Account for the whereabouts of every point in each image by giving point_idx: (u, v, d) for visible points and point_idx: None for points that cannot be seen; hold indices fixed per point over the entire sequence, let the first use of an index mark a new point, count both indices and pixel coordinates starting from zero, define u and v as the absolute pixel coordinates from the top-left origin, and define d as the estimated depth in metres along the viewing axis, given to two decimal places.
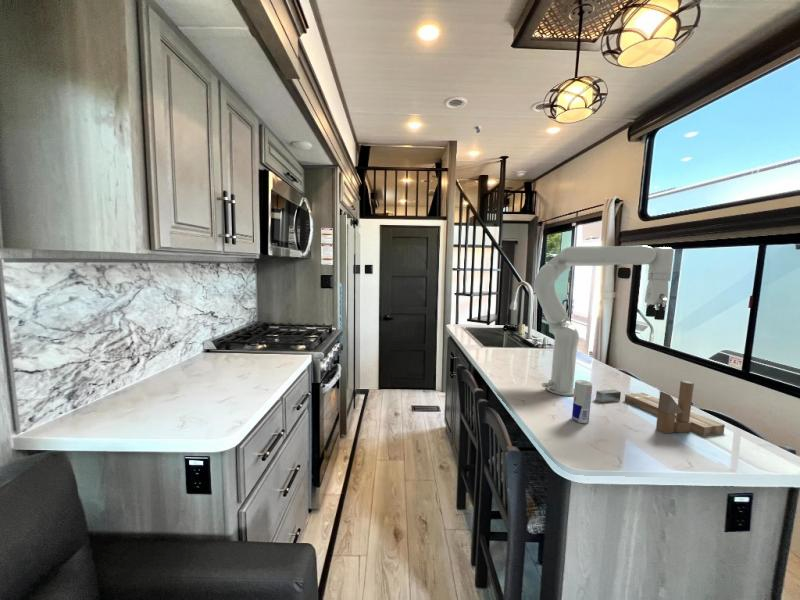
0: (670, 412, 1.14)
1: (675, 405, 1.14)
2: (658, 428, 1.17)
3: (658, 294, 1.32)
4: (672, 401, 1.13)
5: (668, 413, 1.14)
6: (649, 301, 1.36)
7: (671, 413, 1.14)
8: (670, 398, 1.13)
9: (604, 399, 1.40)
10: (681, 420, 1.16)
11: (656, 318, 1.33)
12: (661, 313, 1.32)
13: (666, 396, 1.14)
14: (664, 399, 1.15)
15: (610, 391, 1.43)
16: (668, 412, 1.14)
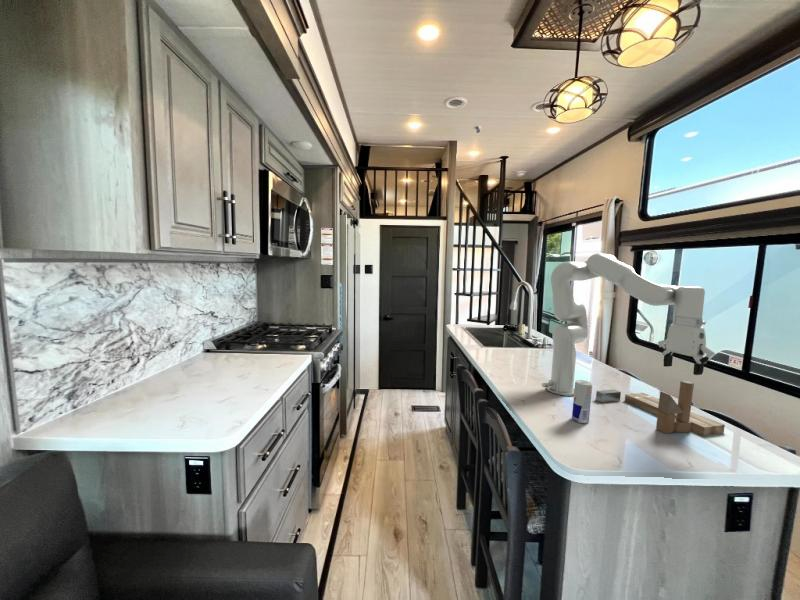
0: (670, 412, 1.14)
1: (675, 405, 1.14)
2: (658, 428, 1.17)
3: None
4: (672, 401, 1.13)
5: (669, 413, 1.14)
6: None
7: (671, 413, 1.14)
8: (670, 398, 1.13)
9: (604, 399, 1.40)
10: (681, 420, 1.16)
11: None
12: None
13: (666, 396, 1.14)
14: (664, 399, 1.15)
15: (610, 391, 1.43)
16: (668, 412, 1.14)
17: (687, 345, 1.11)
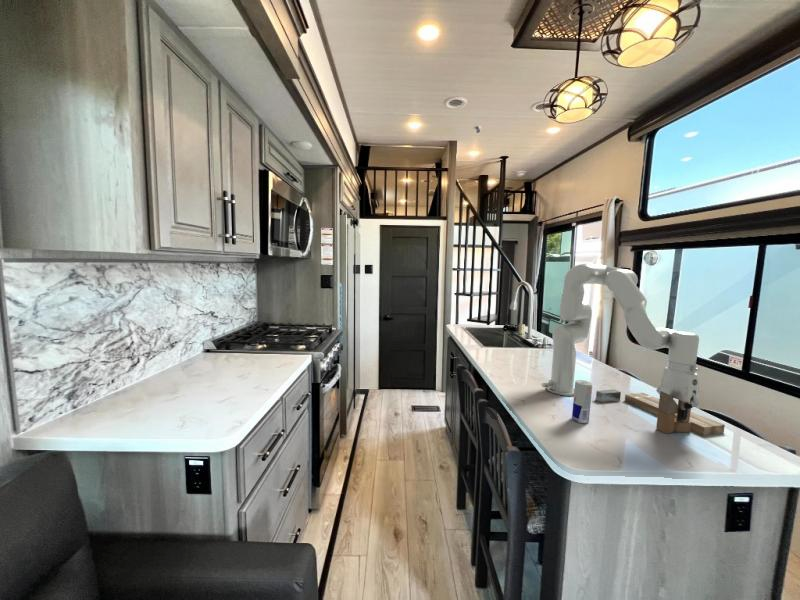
0: (671, 412, 1.14)
1: (675, 405, 1.14)
2: (658, 428, 1.17)
3: None
4: (672, 401, 1.13)
5: (669, 413, 1.14)
6: None
7: (671, 413, 1.14)
8: (670, 398, 1.13)
9: (604, 399, 1.40)
10: (681, 420, 1.16)
11: None
12: None
13: (666, 396, 1.14)
14: (664, 399, 1.15)
15: (610, 391, 1.43)
16: (668, 412, 1.14)
17: (680, 390, 1.12)
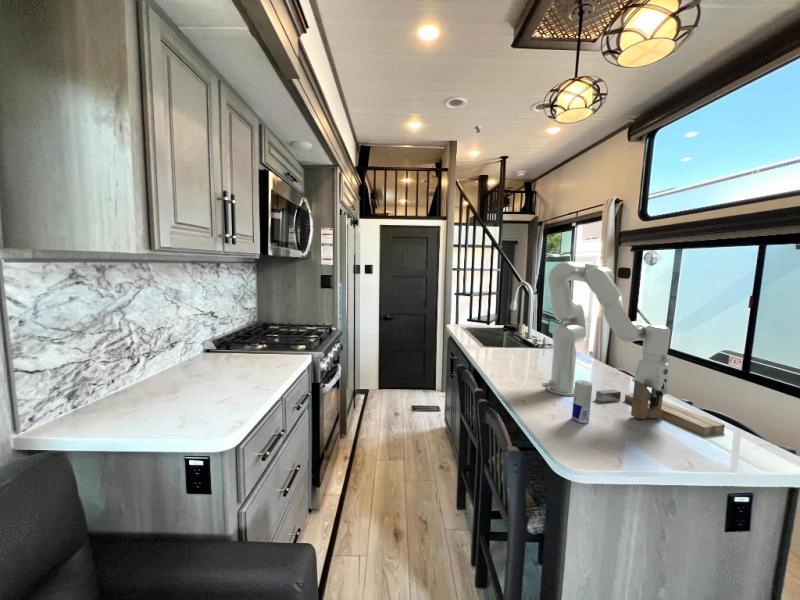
0: (643, 399, 1.23)
1: (648, 393, 1.23)
2: (633, 414, 1.26)
3: None
4: (645, 389, 1.23)
5: (642, 400, 1.23)
6: None
7: (644, 400, 1.23)
8: (643, 386, 1.22)
9: (604, 399, 1.40)
10: (654, 407, 1.25)
11: None
12: None
13: (640, 384, 1.23)
14: (638, 387, 1.24)
15: (610, 391, 1.43)
16: (641, 399, 1.23)
17: (653, 379, 1.22)
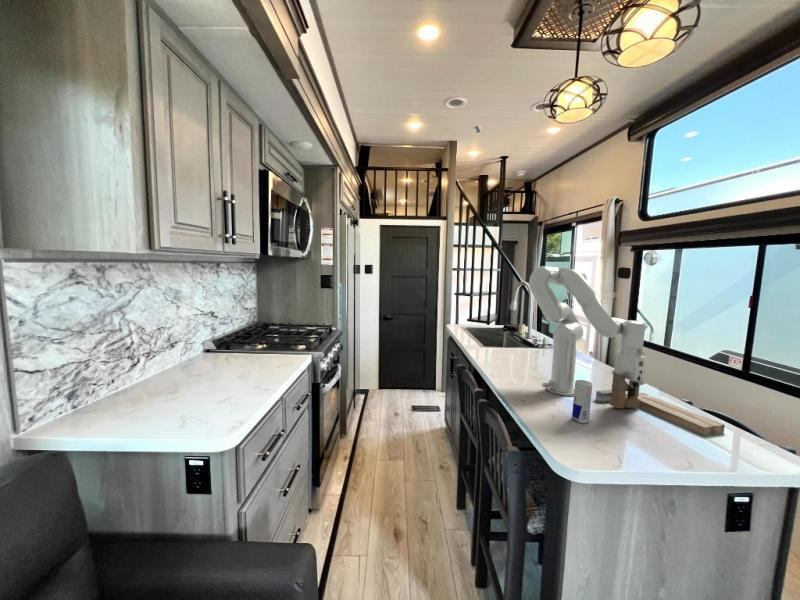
0: (621, 389, 1.32)
1: (625, 384, 1.32)
2: (611, 404, 1.35)
3: None
4: (623, 380, 1.31)
5: (620, 391, 1.32)
6: None
7: (622, 391, 1.32)
8: (621, 378, 1.31)
9: (604, 399, 1.40)
10: (631, 397, 1.34)
11: None
12: None
13: (618, 376, 1.32)
14: (616, 379, 1.33)
15: (610, 391, 1.43)
16: (619, 390, 1.32)
17: (629, 371, 1.31)
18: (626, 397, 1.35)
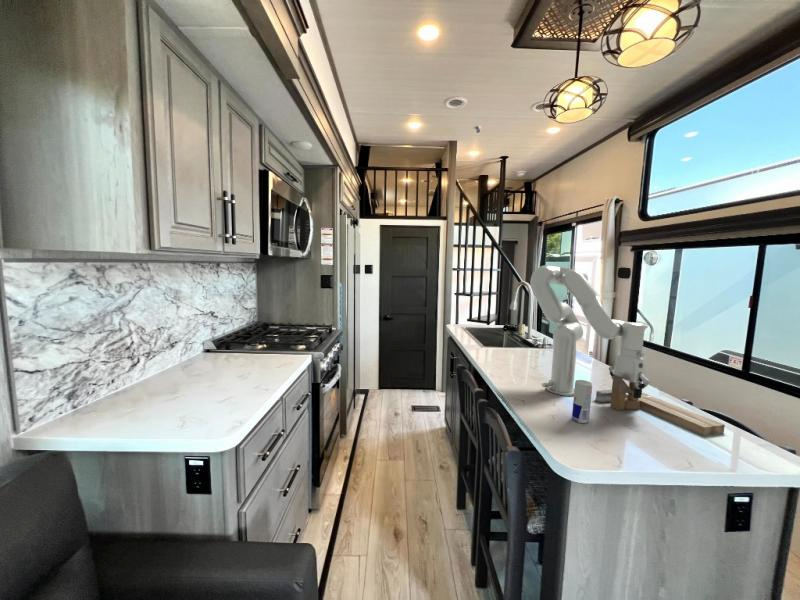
0: (621, 391, 1.32)
1: (625, 385, 1.32)
2: (612, 406, 1.35)
3: None
4: (623, 382, 1.32)
5: (620, 393, 1.32)
6: None
7: (622, 392, 1.32)
8: (621, 379, 1.31)
9: (604, 399, 1.40)
10: (631, 399, 1.34)
11: None
12: None
13: (618, 378, 1.32)
14: (616, 380, 1.33)
15: (610, 391, 1.43)
16: (619, 392, 1.32)
17: (629, 373, 1.31)
18: (626, 399, 1.35)
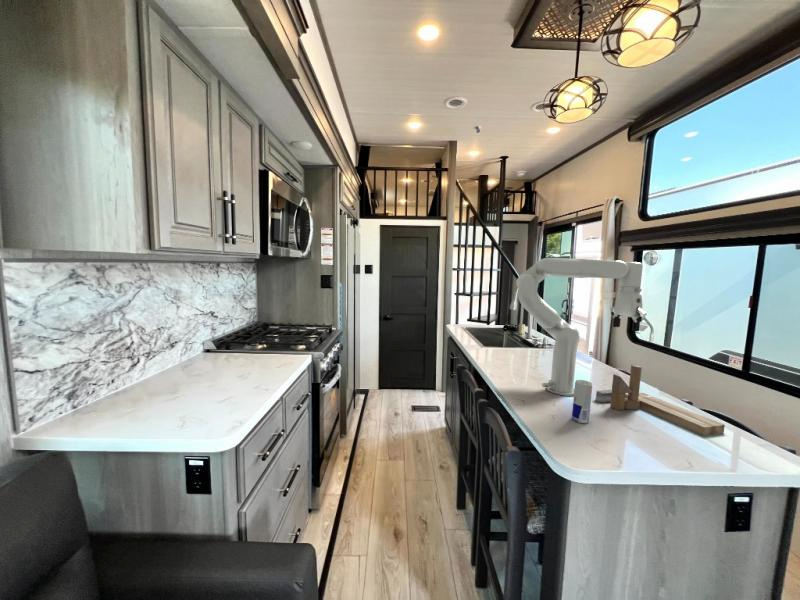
0: (621, 391, 1.32)
1: (625, 386, 1.32)
2: (612, 406, 1.35)
3: None
4: (623, 382, 1.32)
5: (620, 393, 1.32)
6: None
7: (622, 392, 1.32)
8: (621, 379, 1.31)
9: (604, 399, 1.40)
10: (631, 399, 1.34)
11: None
12: None
13: (618, 378, 1.32)
14: (616, 380, 1.33)
15: (610, 391, 1.43)
16: (619, 392, 1.32)
17: (628, 308, 1.41)
18: (626, 399, 1.35)
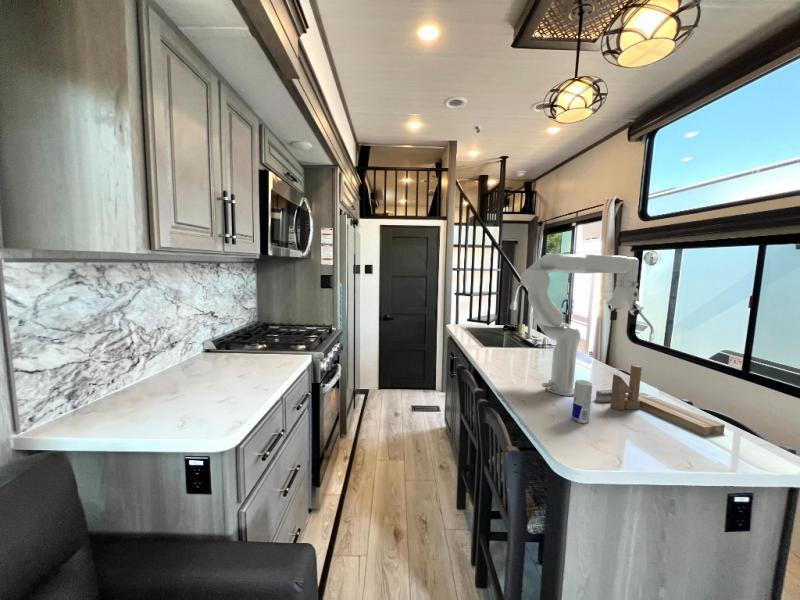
0: (621, 391, 1.32)
1: (625, 385, 1.32)
2: (612, 406, 1.35)
3: None
4: (623, 382, 1.32)
5: (620, 393, 1.32)
6: None
7: (622, 392, 1.32)
8: (621, 379, 1.31)
9: (604, 399, 1.40)
10: (631, 399, 1.34)
11: None
12: None
13: (618, 378, 1.32)
14: (616, 380, 1.33)
15: (610, 391, 1.43)
16: (619, 392, 1.32)
17: (625, 302, 1.47)
18: (626, 399, 1.35)
